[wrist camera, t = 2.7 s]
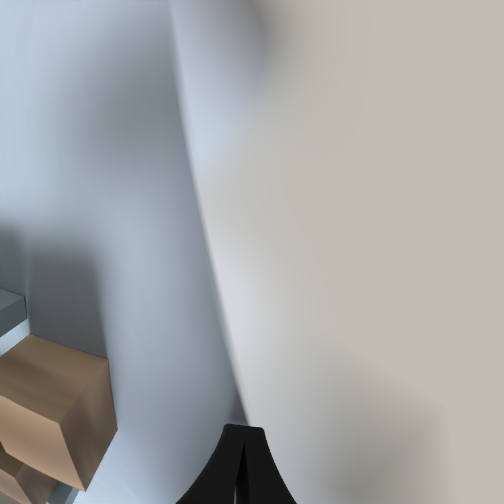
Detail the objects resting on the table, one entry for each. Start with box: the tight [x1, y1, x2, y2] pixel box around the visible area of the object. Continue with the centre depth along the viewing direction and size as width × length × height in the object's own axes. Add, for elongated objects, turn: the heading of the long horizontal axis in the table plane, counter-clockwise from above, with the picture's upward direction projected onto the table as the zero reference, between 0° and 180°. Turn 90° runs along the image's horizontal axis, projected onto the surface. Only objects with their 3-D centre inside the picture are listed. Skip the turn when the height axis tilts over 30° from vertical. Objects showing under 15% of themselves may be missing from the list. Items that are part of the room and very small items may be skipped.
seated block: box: [0, 441, 59, 504], centre depth 10 cm, size 4×4×4 cm
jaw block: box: [0, 334, 118, 492], centre depth 9 cm, size 4×4×4 cm
